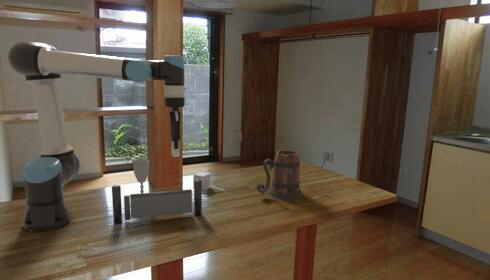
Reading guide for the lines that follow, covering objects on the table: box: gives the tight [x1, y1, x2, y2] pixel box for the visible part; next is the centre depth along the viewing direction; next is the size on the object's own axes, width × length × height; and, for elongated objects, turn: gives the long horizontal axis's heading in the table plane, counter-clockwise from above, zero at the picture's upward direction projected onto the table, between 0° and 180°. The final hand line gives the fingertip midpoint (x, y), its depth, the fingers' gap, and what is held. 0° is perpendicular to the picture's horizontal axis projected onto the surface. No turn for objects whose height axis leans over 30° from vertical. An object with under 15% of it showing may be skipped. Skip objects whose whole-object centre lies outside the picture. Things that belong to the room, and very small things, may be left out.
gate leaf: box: [123, 189, 193, 221], centre depth 138 cm, size 25×2×10 cm, turn 108°
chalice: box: [132, 158, 150, 194], centre depth 153 cm, size 7×7×18 cm
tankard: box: [256, 149, 304, 201], centre depth 166 cm, size 24×17×20 cm
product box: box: [192, 171, 212, 192], centre depth 173 cm, size 6×6×7 cm
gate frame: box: [111, 180, 203, 225], centre depth 138 cm, size 33×3×14 cm, turn 108°
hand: (175, 155), depth 144 cm, fingers open, 2 cm apart
